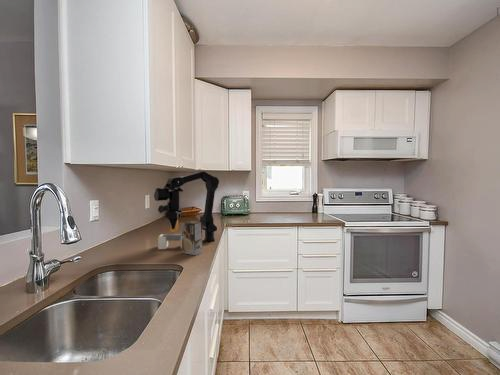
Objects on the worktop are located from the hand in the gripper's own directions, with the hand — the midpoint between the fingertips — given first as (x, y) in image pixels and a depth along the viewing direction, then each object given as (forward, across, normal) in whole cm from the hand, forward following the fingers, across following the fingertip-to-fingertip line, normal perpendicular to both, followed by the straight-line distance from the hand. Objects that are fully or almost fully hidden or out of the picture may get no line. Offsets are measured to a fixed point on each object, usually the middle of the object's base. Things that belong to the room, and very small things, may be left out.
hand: (174, 227), depth 144 cm
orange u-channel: (+2, 0, 0) cm, 2 cm away
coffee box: (+11, +12, +11) cm, 19 cm away
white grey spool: (+11, 0, 0) cm, 11 cm away
